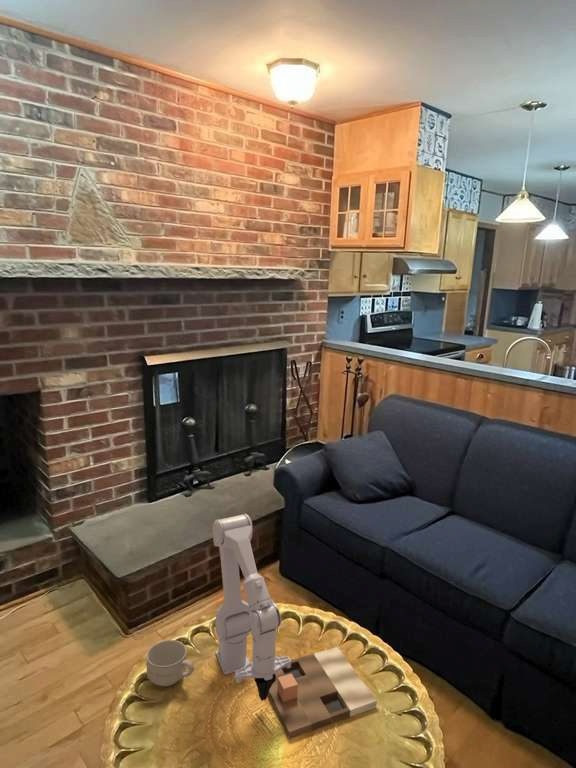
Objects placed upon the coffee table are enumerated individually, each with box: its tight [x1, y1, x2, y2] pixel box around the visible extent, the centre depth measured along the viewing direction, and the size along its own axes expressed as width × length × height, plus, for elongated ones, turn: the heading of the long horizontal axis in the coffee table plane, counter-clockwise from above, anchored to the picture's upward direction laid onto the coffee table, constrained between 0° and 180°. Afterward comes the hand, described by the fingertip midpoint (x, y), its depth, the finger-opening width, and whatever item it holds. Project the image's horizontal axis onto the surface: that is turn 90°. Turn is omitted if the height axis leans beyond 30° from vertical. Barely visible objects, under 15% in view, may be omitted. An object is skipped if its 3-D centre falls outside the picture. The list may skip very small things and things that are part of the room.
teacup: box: [145, 639, 195, 687], centre depth 134 cm, size 14×11×8 cm
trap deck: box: [267, 646, 378, 740], centre depth 133 cm, size 21×25×2 cm
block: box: [277, 673, 298, 702], centre depth 129 cm, size 4×4×4 cm
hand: (262, 697), depth 126 cm, fingers closed
